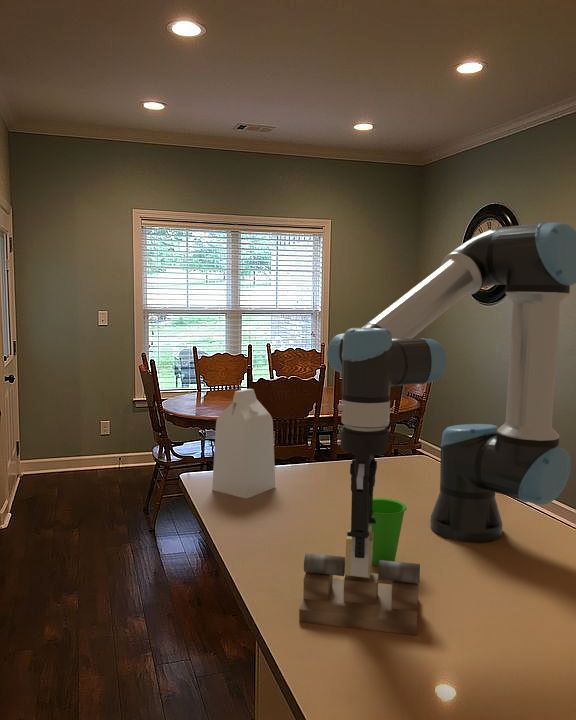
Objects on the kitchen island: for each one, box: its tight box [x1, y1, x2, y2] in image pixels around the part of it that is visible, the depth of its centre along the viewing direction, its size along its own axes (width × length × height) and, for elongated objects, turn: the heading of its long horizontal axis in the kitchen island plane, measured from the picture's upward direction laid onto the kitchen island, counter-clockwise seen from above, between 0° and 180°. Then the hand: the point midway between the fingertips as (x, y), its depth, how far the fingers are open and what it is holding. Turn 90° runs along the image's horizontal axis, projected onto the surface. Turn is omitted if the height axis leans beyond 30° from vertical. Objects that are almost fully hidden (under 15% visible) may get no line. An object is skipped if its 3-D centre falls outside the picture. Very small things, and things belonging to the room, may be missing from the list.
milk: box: [211, 388, 276, 499], centre depth 167 cm, size 12×12×26 cm
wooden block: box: [344, 529, 374, 578], centre depth 103 cm, size 4×4×6 cm
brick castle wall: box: [298, 552, 421, 636], centre depth 104 cm, size 18×12×8 cm, turn 78°
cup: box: [369, 497, 407, 567], centre depth 123 cm, size 9×9×11 cm
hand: (360, 568), depth 104 cm, fingers closed on wooden block, 4 cm apart
